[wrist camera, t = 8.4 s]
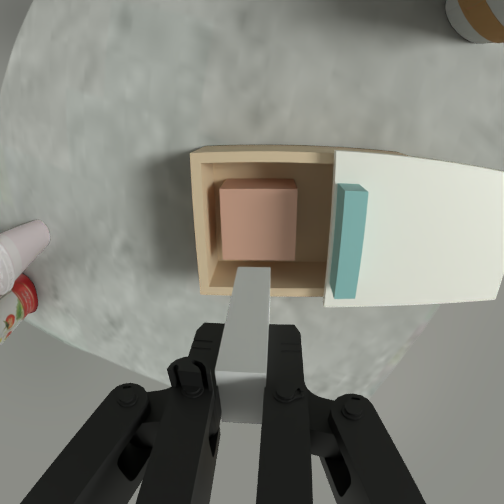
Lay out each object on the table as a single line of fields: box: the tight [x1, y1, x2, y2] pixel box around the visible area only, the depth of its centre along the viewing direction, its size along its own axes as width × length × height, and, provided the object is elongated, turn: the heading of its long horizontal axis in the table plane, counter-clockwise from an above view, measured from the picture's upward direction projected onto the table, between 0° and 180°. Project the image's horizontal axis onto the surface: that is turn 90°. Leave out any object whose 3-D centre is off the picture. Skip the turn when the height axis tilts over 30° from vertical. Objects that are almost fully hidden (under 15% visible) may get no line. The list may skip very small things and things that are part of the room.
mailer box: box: [190, 145, 407, 297], centre depth 27 cm, size 12×18×6 cm, turn 91°
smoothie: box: [0, 220, 50, 295], centre depth 26 cm, size 6×6×14 cm
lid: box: [323, 150, 504, 307], centre depth 22 cm, size 13×19×3 cm
